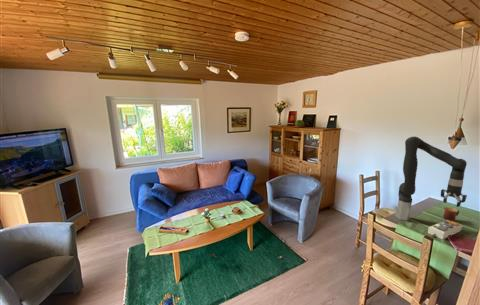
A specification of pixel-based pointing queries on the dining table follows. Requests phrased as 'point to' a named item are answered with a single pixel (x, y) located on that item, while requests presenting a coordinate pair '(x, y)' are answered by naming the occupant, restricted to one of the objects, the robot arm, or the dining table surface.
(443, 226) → the rocker
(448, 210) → the mug
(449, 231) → the power strip
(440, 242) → the dining table surface
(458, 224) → the rocker
